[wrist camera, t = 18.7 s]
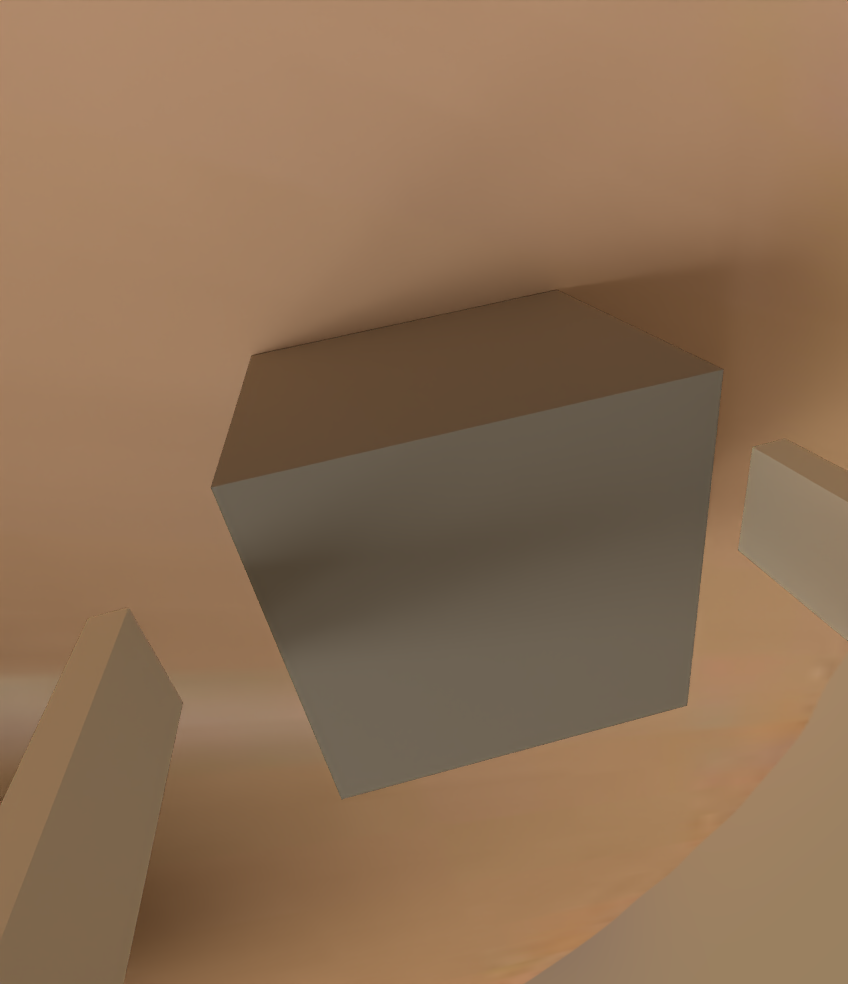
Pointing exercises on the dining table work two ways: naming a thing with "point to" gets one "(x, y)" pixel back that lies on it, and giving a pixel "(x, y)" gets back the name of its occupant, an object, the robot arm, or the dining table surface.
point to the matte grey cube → (474, 529)
